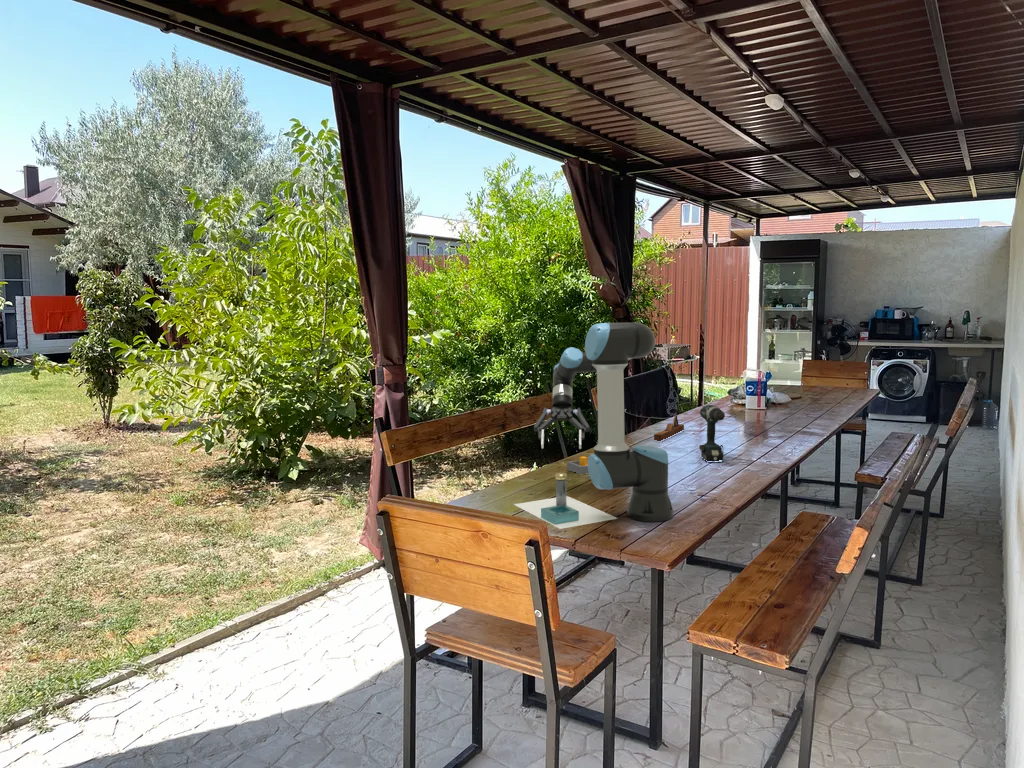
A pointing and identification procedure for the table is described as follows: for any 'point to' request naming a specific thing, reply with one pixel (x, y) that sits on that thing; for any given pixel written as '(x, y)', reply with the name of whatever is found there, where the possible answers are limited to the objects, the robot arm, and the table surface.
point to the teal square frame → (559, 514)
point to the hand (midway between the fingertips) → (561, 446)
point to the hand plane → (669, 430)
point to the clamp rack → (577, 467)
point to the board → (585, 511)
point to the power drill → (711, 433)
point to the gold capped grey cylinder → (561, 488)
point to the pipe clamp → (583, 461)
